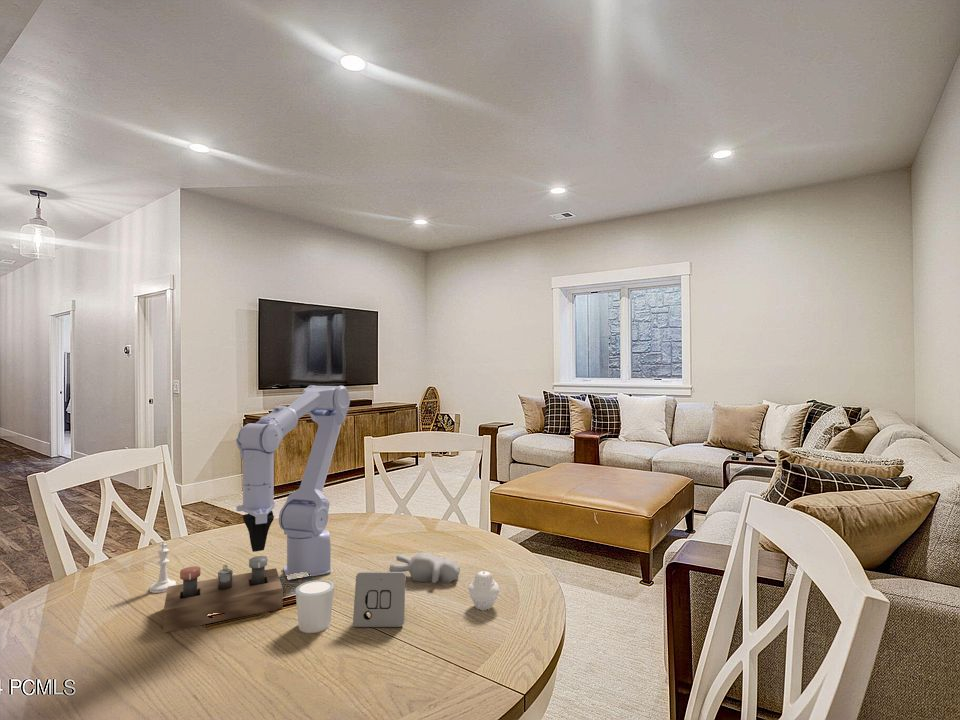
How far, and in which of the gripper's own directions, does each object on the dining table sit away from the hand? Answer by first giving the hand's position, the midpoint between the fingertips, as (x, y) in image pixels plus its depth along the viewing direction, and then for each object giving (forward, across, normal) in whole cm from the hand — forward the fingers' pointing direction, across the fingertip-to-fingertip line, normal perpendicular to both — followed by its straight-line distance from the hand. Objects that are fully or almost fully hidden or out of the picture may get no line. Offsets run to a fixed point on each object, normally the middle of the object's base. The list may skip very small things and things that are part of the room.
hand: (258, 550), depth 105 cm
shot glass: (+11, +15, +9) cm, 20 cm away
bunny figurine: (+11, +5, +34) cm, 36 cm away
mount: (+10, 0, -6) cm, 12 cm away
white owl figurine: (+10, +23, +40) cm, 47 cm away
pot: (+6, 0, -6) cm, 9 cm away
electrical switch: (+11, +19, +20) cm, 29 cm away
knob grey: (+7, 0, 0) cm, 7 cm away
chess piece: (+11, -16, -17) cm, 26 cm away
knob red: (+7, 0, -12) cm, 14 cm away
